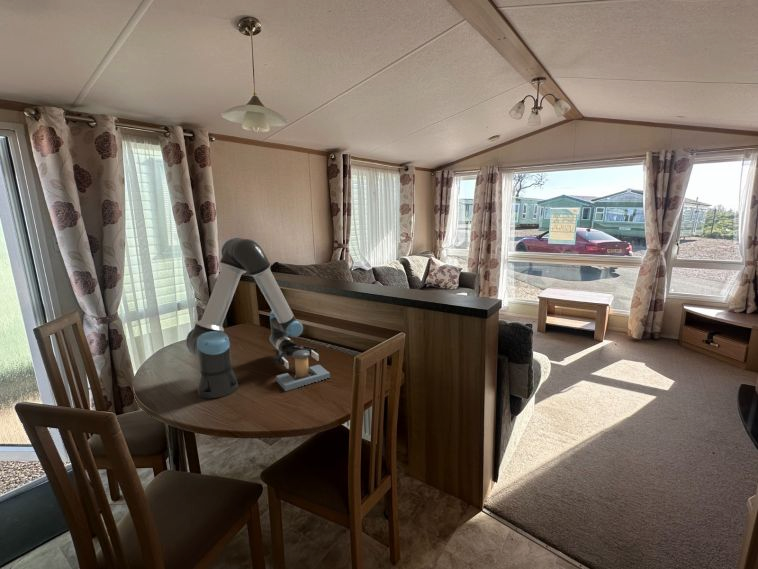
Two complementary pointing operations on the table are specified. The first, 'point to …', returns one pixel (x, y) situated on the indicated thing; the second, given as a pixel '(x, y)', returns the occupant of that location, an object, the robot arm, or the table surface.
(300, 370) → the bobbin
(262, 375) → the table surface
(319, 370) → the notched board
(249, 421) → the table surface
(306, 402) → the table surface
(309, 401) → the table surface
